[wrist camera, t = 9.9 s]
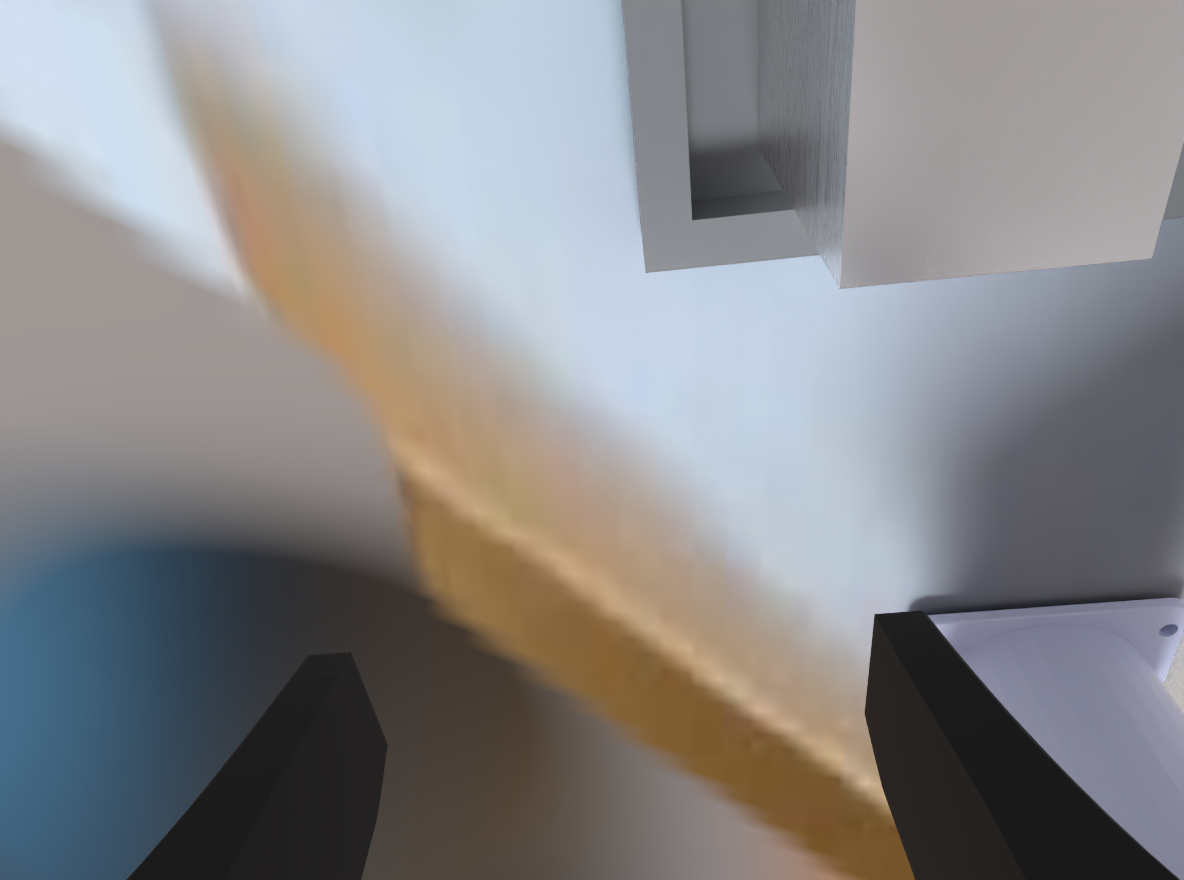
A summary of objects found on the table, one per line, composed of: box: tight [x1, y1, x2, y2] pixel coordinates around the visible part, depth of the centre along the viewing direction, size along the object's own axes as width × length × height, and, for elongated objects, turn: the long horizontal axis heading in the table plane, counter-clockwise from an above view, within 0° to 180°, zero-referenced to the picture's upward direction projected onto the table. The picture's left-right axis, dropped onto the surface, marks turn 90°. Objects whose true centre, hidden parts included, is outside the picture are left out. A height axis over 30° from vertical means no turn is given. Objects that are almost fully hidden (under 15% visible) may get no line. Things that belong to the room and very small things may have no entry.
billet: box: [759, 0, 1184, 289], centre depth 13 cm, size 5×4×7 cm
